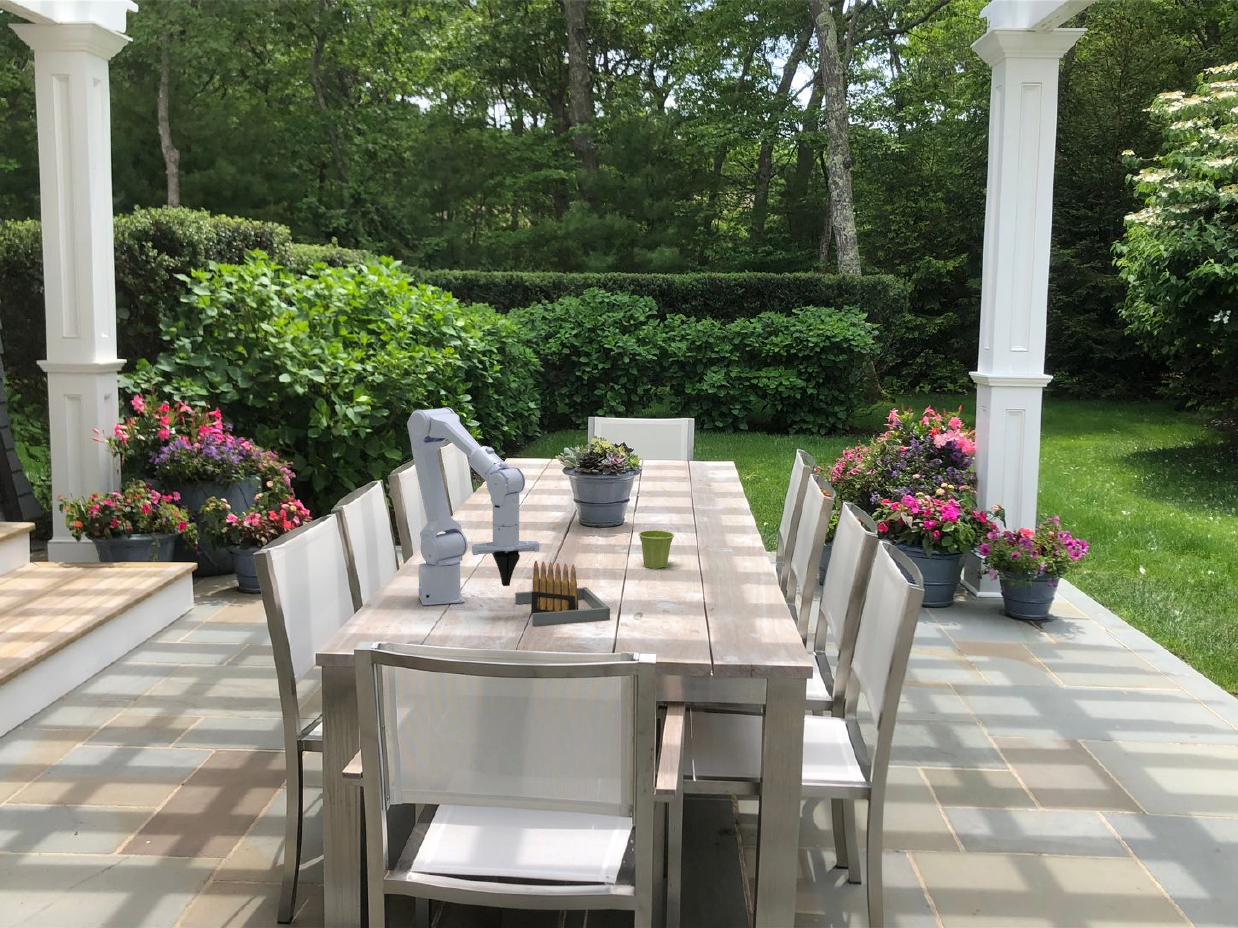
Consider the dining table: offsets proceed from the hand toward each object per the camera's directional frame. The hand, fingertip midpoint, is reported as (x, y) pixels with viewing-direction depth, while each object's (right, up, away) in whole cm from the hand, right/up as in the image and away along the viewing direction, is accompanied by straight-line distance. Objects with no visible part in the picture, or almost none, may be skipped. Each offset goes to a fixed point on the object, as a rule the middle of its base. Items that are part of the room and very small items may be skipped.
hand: (505, 584), depth 226 cm
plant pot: (+34, -1, +47) cm, 58 cm away
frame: (+11, -6, +5) cm, 14 cm away
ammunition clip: (+11, -7, +2) cm, 13 cm away
